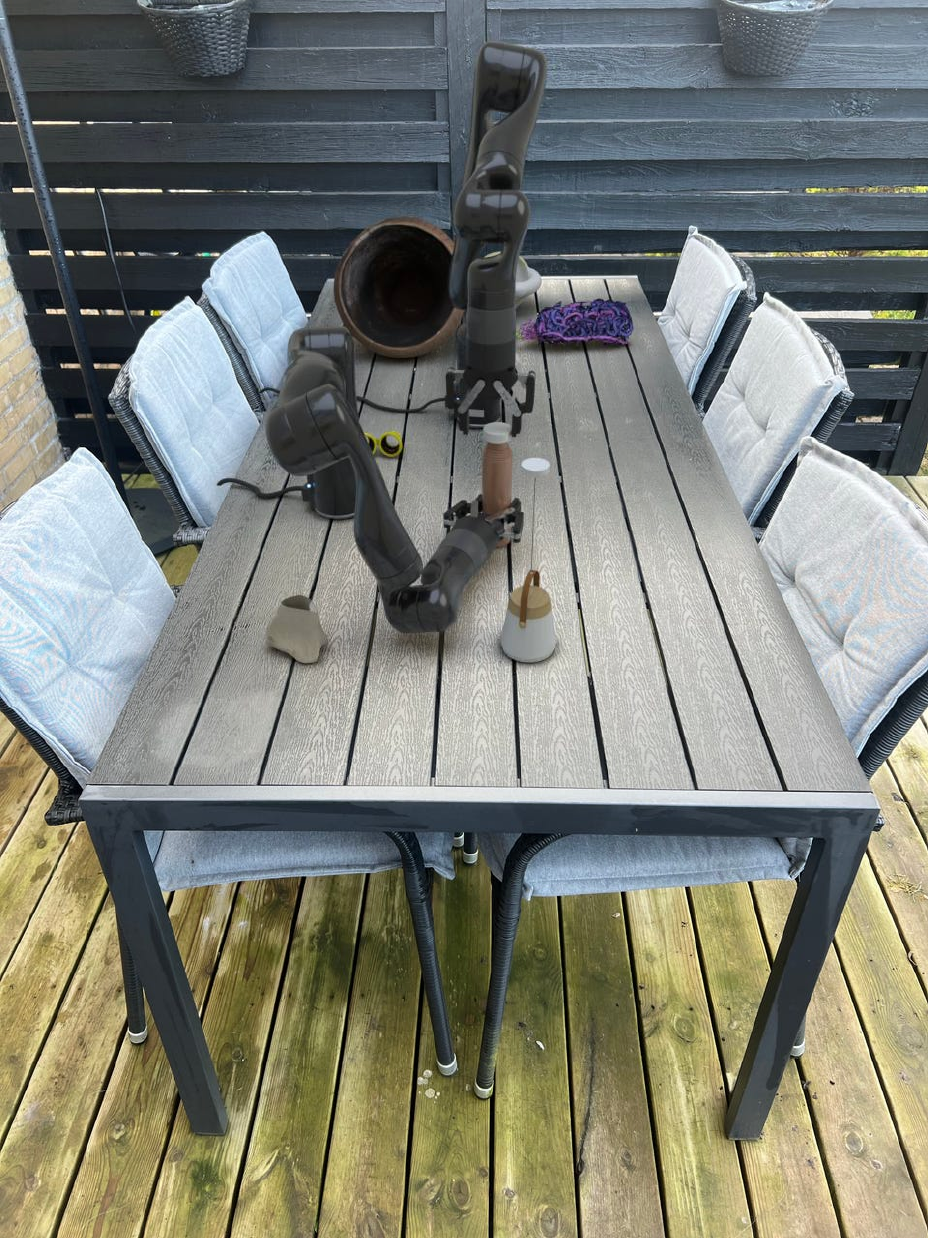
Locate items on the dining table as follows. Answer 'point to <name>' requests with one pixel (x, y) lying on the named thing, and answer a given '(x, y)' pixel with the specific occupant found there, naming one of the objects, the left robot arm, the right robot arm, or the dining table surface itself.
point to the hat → (524, 280)
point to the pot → (397, 288)
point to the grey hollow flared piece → (297, 629)
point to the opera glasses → (385, 444)
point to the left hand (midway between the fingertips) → (501, 499)
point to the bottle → (497, 480)
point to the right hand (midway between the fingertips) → (490, 433)
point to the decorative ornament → (581, 323)
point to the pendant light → (529, 603)
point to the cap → (497, 432)
